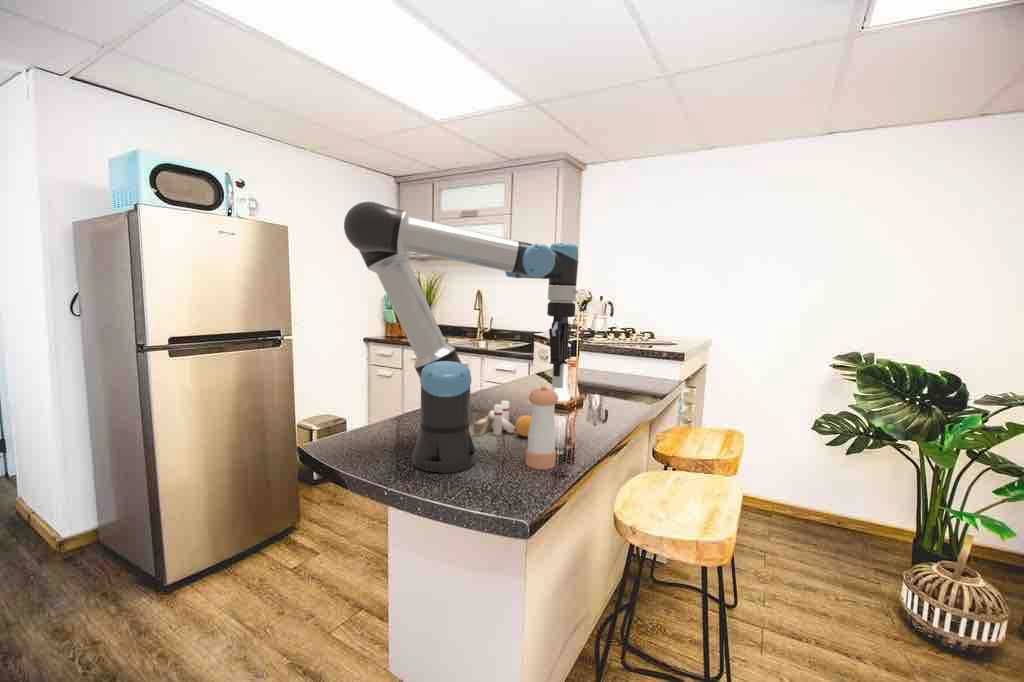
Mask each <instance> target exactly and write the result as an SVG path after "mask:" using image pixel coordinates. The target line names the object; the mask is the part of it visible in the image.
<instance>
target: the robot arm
mask: <svg viewBox="0 0 1024 682" xmlns="http://www.w3.org/2000/svg"><path fill="white" fill-rule="evenodd" d="M343 230H344V235H345V237H346V239H347V240H348V242H349V243H350V244H351V245H352V246H353V247H354V248H356V249H357V250H358V251H359V254H360V255H361V257H362V259H363V262H364V263H365V265H366V267H367V270H369V271H371V272H373V273H375V274H377V277H378V279H379V280H380V283H381V285H382V288H383V289H384V292H385V294H386V296H387V297H388V300H389V302H390V305H391V307H392V308H393V310H394V313H395V314H396V317H397V319H398V322H399V324H400V326H401V328H402V330H403V332H404V334H405V336H406V338H407V341H408V342H409V345H410V348H411V349H412V350H413V351H412V352H413V353H414V355H415V362H414V366H413V367H414V369H415V371H416V373H417V375H418V377H419V383H420V420H419V421H420V422H419V423H420V426H419V427H420V429H419V433H418V435H417V439H416V442H415V445H414V448H413V449H412V450H413V451H412V460H411V462H413V463H412V465H413V464H414V465H415V466H416V467H418V468H420V469H422V470H421V471H423V470H426V471H425V472H427V471H431V472H430V473H432V472H439V473H438V474H451V473H452V474H453V473H459V472H462V471H466V470H468V469H470V468H472V467H473V466H474V465H475V464H476V460H477V458H476V457H477V452H476V448H475V445H474V441H473V437H472V435H471V431H470V414H471V412H470V411H471V384H472V375H471V370H470V367H468V366H467V365H466V364H464V363H462V360H461V359H460V357H459V354H458V353H457V350H456V347H454V346H452V345H449V344H447V342H446V340H445V337H444V335H443V333H442V332H441V329H440V327H439V325H438V323H437V321H436V318H435V315H434V314H433V311H432V309H431V308H430V305H429V303H428V300H427V298H426V296H425V294H424V292H423V290H422V288H421V285H420V283H419V281H418V279H417V276H416V274H415V272H414V270H413V268H412V265H411V263H410V262H409V258H410V256H411V253H416V254H418V255H419V254H420V255H424V256H429V257H430V256H431V257H435V258H440V259H444V260H445V259H446V260H450V261H454V262H459V263H464V264H469V265H474V266H480V267H484V268H487V269H493V270H498V271H503V272H505V274H504V275H505V276H506V277H507V278H515V279H537V280H538V279H541V280H542V279H543V280H548V290H547V299H548V301H549V302H548V303H547V308H546V309H547V312H546V313H547V316H548V317H553V320H552V323H551V328H549V330H548V333H549V346H550V347H549V349H550V350H549V352H550V360H549V364H550V365H552V375H551V376H552V377H551V378H552V379H551V387H552V388H554V389H555V388H556V389H562V388H563V387H564V372H565V364H566V365H567V364H568V361H567V359H568V348H569V341H570V340H569V339H570V333H571V329H572V327H571V326H570V322H569V318H574V317H575V316H576V307H577V306H576V304H575V301H576V300H577V298H576V297H577V294H578V293H579V290H578V289H577V280H578V266H579V249H578V248H579V247H578V246H577V245H576V244H574V243H570V242H569V243H568V242H566V243H565V242H554V243H551V244H550V246H548V245H546V244H545V243H544V244H543V243H538V242H537V243H530V242H524V241H519V240H516V239H511V238H507V237H503V236H497V235H494V234H489V233H485V232H480V231H474V230H471V229H467V228H461V227H459V226H458V227H457V226H452V225H449V224H448V225H447V224H443V223H440V222H439V223H438V222H435V221H429V220H425V219H421V218H416V217H413V216H410V215H409V212H407V211H406V210H402V209H398V208H394V207H390V206H387V205H384V204H381V203H378V202H374V201H363V202H359V203H356V204H355V205H354V206H352V207H351V208H350V209H349V210H348V211H347V213H346V215H345V217H344V222H343ZM414 465H413V466H414ZM415 466H414V467H415ZM416 467H415V468H416ZM418 468H417V469H418ZM420 469H419V470H420Z"/></svg>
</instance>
